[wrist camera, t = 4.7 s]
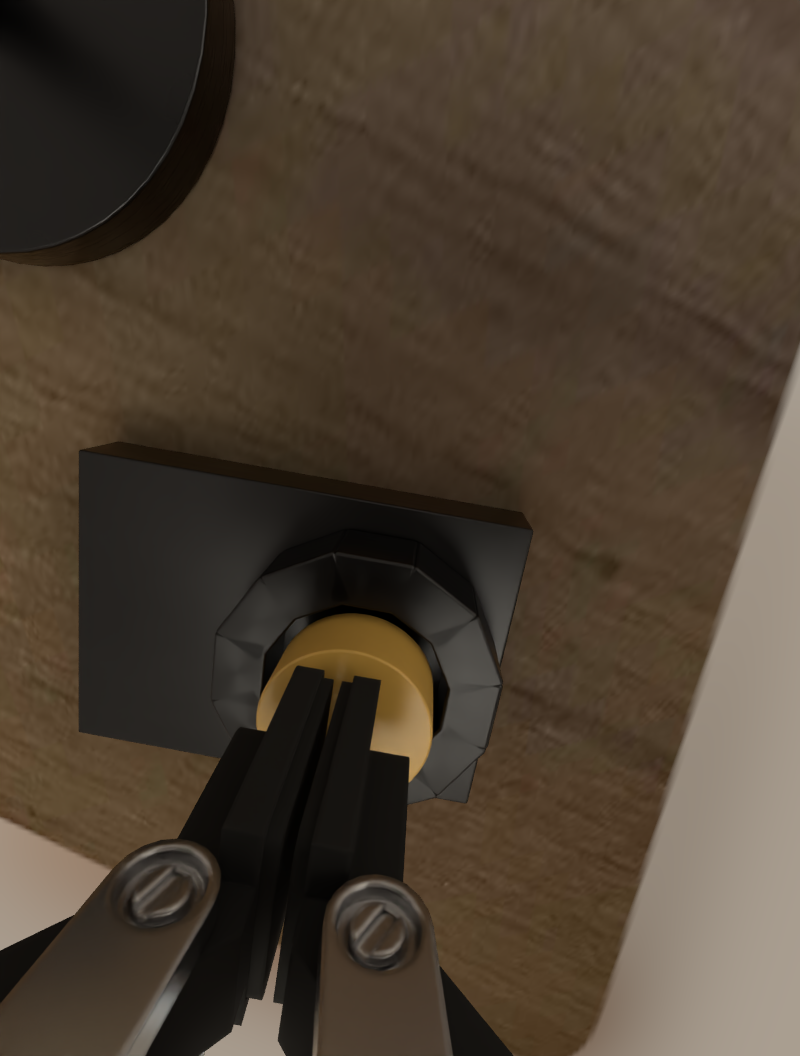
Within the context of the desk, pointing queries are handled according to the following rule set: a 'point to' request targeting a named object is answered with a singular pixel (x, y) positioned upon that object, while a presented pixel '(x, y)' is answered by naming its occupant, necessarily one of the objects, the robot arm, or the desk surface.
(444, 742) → the button base
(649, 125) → the desk surface
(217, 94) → the desk lamp
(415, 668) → the button
